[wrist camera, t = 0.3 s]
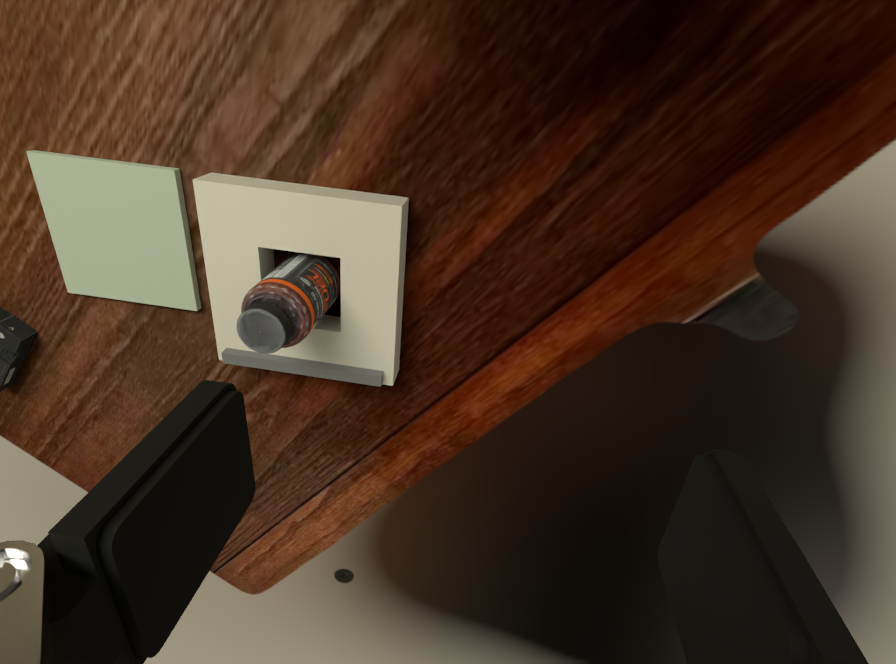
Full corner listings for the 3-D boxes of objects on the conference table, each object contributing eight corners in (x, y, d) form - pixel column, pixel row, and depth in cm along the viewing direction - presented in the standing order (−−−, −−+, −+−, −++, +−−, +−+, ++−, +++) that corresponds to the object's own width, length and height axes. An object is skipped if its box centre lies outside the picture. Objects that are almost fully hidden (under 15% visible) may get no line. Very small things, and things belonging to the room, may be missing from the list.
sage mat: (33, 150, 46) (26, 151, 46) (179, 168, 45) (174, 170, 45) (73, 289, 53) (67, 292, 52) (201, 307, 52) (197, 311, 51)
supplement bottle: (353, 293, 49) (312, 351, 39) (304, 314, 51) (253, 375, 41) (320, 239, 47) (268, 286, 37) (271, 263, 49) (208, 315, 39)
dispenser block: (211, 172, 45) (185, 181, 42) (408, 197, 44) (399, 209, 41) (233, 345, 54) (213, 364, 50) (399, 369, 53) (390, 391, 49)
